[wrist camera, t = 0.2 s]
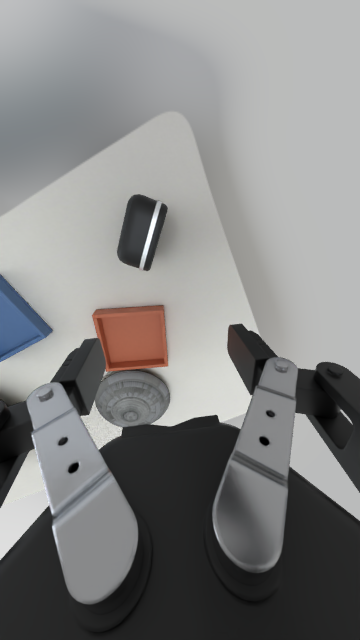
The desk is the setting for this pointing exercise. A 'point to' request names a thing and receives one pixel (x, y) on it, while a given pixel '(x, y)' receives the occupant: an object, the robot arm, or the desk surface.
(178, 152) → the desk surface
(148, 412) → the flying saucer
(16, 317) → the blue tray
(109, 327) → the terracotta tray
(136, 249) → the battery charger
